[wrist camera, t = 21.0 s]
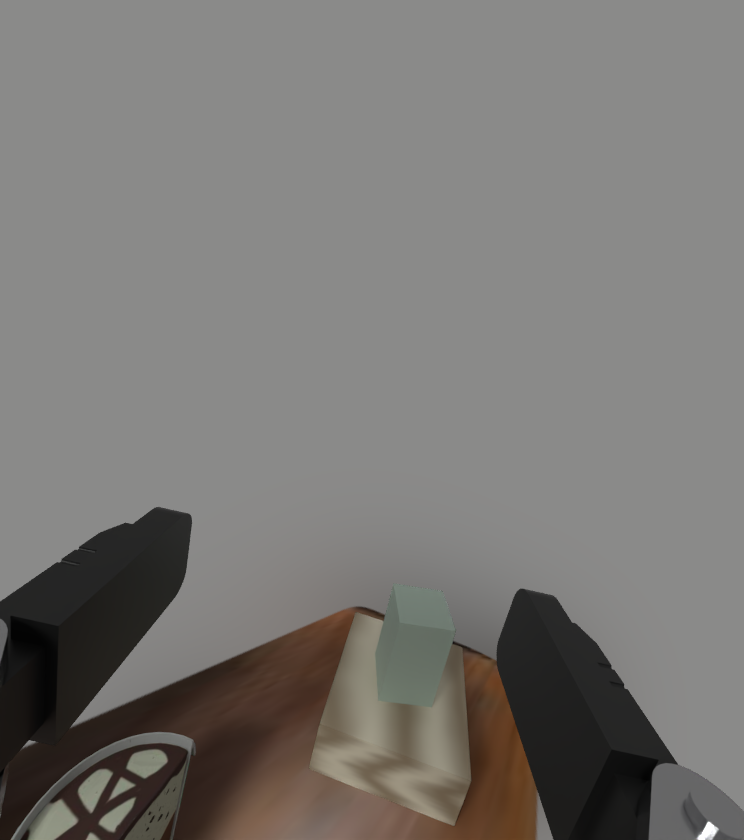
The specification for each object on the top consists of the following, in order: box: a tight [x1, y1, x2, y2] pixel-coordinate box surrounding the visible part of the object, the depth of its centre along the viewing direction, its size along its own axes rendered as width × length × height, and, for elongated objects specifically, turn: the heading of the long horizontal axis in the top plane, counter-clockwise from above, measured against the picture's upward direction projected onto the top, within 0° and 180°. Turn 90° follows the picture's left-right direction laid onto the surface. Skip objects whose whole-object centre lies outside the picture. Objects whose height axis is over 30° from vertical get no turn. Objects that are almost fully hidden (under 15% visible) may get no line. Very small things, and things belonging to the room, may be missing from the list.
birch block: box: [309, 612, 471, 826], centre depth 41 cm, size 14×15×6 cm
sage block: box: [375, 584, 456, 707], centre depth 40 cm, size 6×6×10 cm
